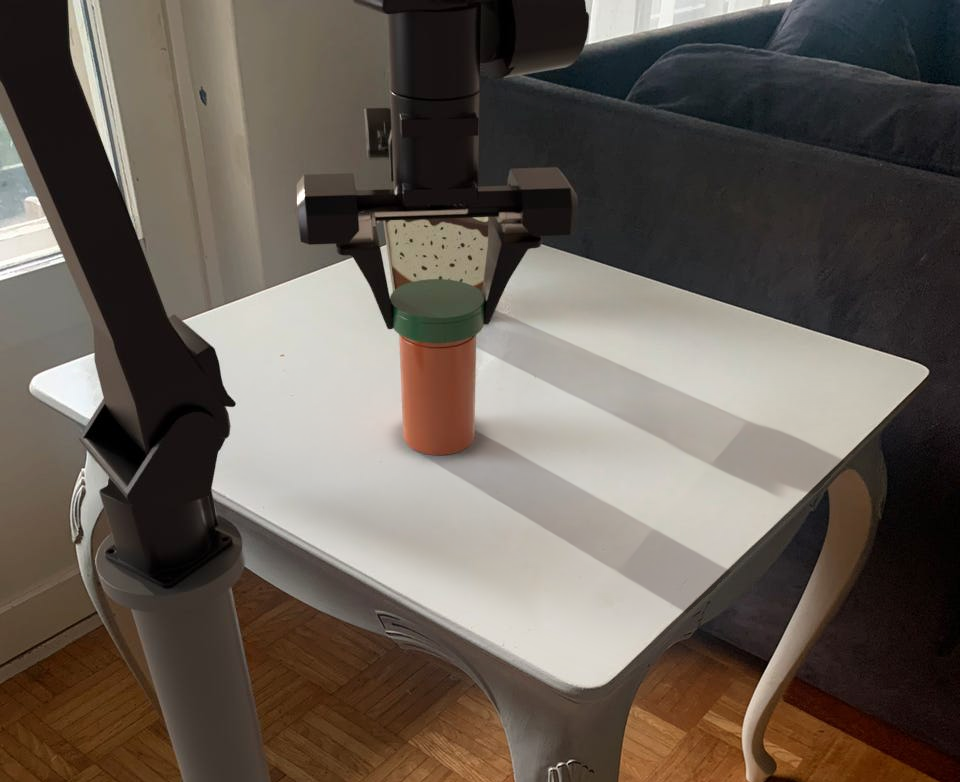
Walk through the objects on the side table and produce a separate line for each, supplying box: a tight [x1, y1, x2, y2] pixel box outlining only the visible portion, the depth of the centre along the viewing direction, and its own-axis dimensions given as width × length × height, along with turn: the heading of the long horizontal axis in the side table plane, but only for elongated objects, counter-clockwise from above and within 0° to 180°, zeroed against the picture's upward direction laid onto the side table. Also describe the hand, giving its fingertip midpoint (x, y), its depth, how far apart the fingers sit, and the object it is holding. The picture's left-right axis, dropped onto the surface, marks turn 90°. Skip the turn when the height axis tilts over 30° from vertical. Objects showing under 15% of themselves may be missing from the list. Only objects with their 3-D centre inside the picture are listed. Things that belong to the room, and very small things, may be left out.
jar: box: [398, 334, 477, 456], centre depth 73 cm, size 6×6×11 cm
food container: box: [376, 217, 488, 292], centre depth 93 cm, size 12×6×10 cm, turn 71°
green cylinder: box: [390, 279, 485, 343], centre depth 70 cm, size 7×7×2 cm
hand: (438, 324), depth 71 cm, fingers closed on green cylinder, 7 cm apart
